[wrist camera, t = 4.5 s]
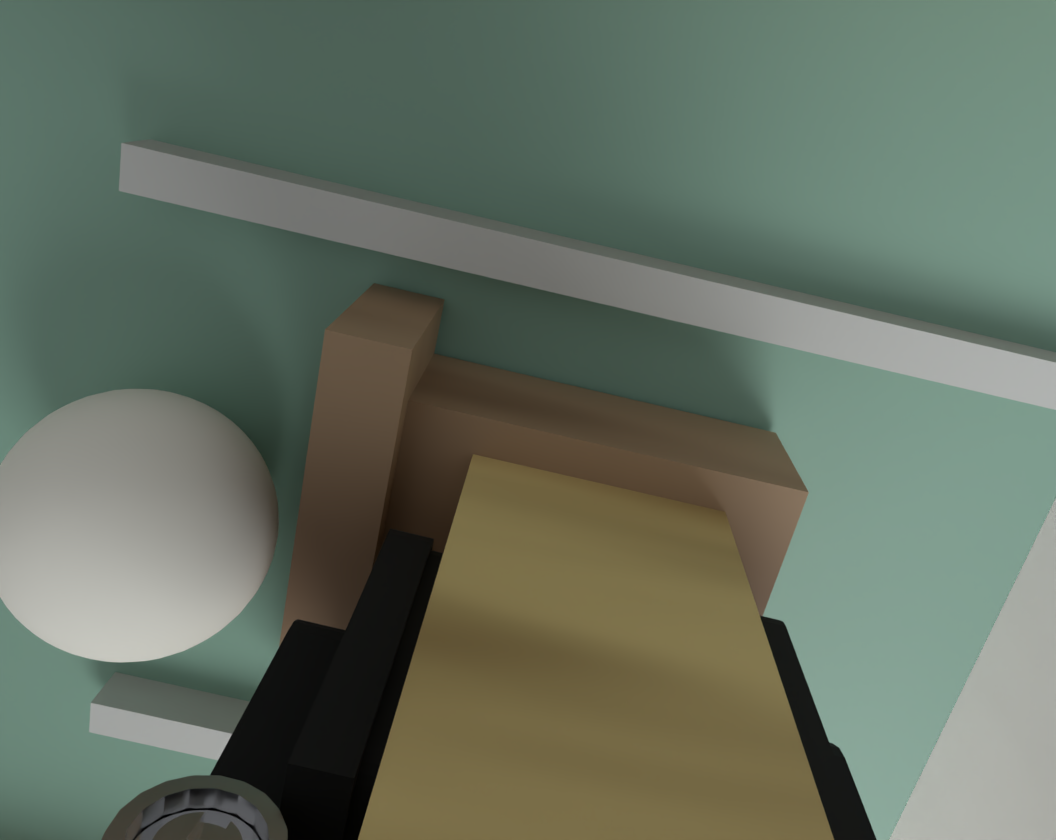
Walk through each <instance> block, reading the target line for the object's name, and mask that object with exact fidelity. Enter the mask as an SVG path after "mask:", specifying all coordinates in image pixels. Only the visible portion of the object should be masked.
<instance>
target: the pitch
mask: <svg viewBox="0 0 1056 840" xmlns="http://www.w3.org/2000/svg"><path fill="white" fill-rule="evenodd" d="M374 283H376V284H380V285H384V286H389V287H393V288H397V289H401V290H406V291H410V292H414V293H419V294H423V295H427V296H431V297H436V298H440V299H444V306H443V311H442V316H441V321H440V326H439V331H438V337H437V342H436V347H435V352H434V354H438V355H442V356H447V357H451V358H455V359H460V360H464V361H468V362H473V363H477V364H481V365H486V366H490V367H494V368H498V369H503V370H507V371H511V372H516V373H520V374H524V375H529V376H533V377H537V378H542V379H546V380H550V381H555V382H559V383H563V384H568V385H572V386H576V387H581V388H585V389H589V390H594V391H598V392H602V393H607V394H611V395H615V396H619V397H624V398H628V399H632V400H637V401H641V402H645V403H650V404H654V405H658V406H663V407H667V408H671V409H676V410H680V411H684V412H689V413H693V414H697V415H702V416H706V417H710V418H715V419H719V420H723V421H728V422H732V423H736V424H740V425H745V426H749V427H753V428H758V429H762V430H766V431H771V432H775V433H776V434H777V436H778V437H779V439H780V441H781V443H782V445H783V446H784V448H785V450H786V452H787V454H788V456H789V457H790V459H791V461H792V463H793V465H794V466H795V468H796V470H797V472H798V474H799V475H800V477H801V479H802V481H803V483H804V485H805V486H806V488H807V490H808V492H809V494H808V496H807V499H806V502H805V504H804V507H803V510H802V512H801V515H800V518H799V520H798V523H797V526H796V528H795V531H794V534H793V536H792V539H791V542H790V544H789V547H788V550H787V552H786V555H785V558H784V560H783V563H782V566H781V568H780V571H779V574H778V576H777V579H776V582H775V584H774V587H773V590H772V592H771V595H770V598H769V600H768V603H767V606H766V608H765V611H764V614H763V616H764V617H768V618H773V619H777V620H781V621H783V622H784V624H785V625H786V628H787V630H788V633H789V636H790V638H791V641H792V644H793V646H794V649H795V652H796V654H797V657H798V660H799V663H800V665H801V668H802V671H803V673H804V676H805V679H806V681H807V684H808V687H809V689H810V692H811V695H812V697H813V700H814V703H815V705H816V708H817V711H818V714H819V716H820V719H821V722H822V724H823V727H824V730H825V732H826V735H827V738H828V740H829V743H833V744H834V745H836V746H837V747H839V748H840V750H841V752H842V753H843V755H844V757H845V759H846V762H847V764H848V767H849V769H850V772H851V775H852V777H853V780H854V782H855V785H856V788H857V790H858V793H859V795H860V798H861V800H862V803H863V806H864V808H865V811H866V813H867V816H868V819H869V821H870V824H871V826H872V829H873V831H874V834H875V837H876V839H877V840H889V839H890V837H891V834H892V832H893V830H894V828H895V826H896V824H897V822H898V820H899V818H900V816H901V814H902V812H903V810H904V808H905V806H906V804H907V802H908V800H909V798H910V795H911V793H912V791H913V789H914V787H915V785H916V783H917V781H918V779H919V777H920V775H921V773H922V771H923V769H924V767H925V765H926V763H927V761H928V759H929V757H930V754H931V752H932V750H933V748H934V746H935V744H936V742H937V740H938V738H939V736H940V734H941V732H942V730H943V728H944V726H945V724H946V722H947V720H948V718H949V715H950V713H951V711H952V709H953V707H954V705H955V703H956V701H957V699H958V697H959V695H960V693H961V691H962V689H963V687H964V685H965V683H966V681H967V679H968V677H969V674H970V672H971V670H972V668H973V666H974V664H975V662H976V660H977V658H978V656H979V654H980V652H981V650H982V648H983V646H984V644H985V642H986V640H987V638H988V636H989V633H990V631H991V629H992V627H993V625H994V623H995V621H996V619H997V617H998V615H999V613H1000V611H1001V609H1002V607H1003V605H1004V603H1005V601H1006V599H1007V597H1008V594H1009V592H1010V590H1011V588H1012V586H1013V584H1014V582H1015V580H1016V578H1017V576H1018V574H1019V572H1020V570H1021V568H1022V566H1023V564H1024V562H1025V560H1026V558H1027V556H1028V553H1029V551H1030V549H1031V547H1032V545H1033V543H1034V541H1035V539H1036V537H1037V535H1038V533H1039V531H1040V529H1041V527H1042V525H1043V523H1044V521H1045V519H1046V517H1047V514H1048V512H1049V510H1050V508H1051V506H1052V504H1053V502H1054V500H1055V498H1056V0H0V465H1V463H2V461H3V460H4V458H5V457H6V455H7V454H8V452H9V451H10V450H11V449H12V448H13V446H14V445H15V444H16V443H17V442H18V441H19V439H20V438H21V437H22V436H23V435H24V434H25V433H26V432H27V431H28V430H29V429H31V428H32V427H33V426H34V425H36V424H37V423H38V422H40V421H41V420H42V419H43V418H45V417H46V416H47V415H49V414H51V413H52V412H54V411H56V410H58V409H59V408H61V407H63V406H65V405H67V404H69V403H71V402H74V401H76V400H79V399H82V398H84V397H87V396H91V395H95V394H99V393H103V392H108V391H112V390H121V389H155V390H161V391H167V392H172V393H176V394H179V395H183V396H186V397H189V398H192V399H194V400H197V401H199V402H201V403H204V404H206V405H208V406H210V407H211V408H213V409H215V410H217V411H218V412H220V413H221V414H223V415H224V416H226V417H227V418H228V419H230V420H231V421H232V422H233V423H234V424H236V425H237V426H238V427H239V428H240V429H241V430H242V431H243V432H244V433H245V434H246V435H247V436H248V438H249V439H250V440H251V441H252V442H253V444H254V445H255V447H256V448H257V449H258V451H259V452H260V454H261V456H262V458H263V460H264V461H265V463H266V465H267V467H268V470H269V472H270V475H271V478H272V480H273V483H274V486H275V491H276V495H277V500H278V512H279V527H278V538H277V542H276V547H275V551H274V556H273V559H272V562H271V564H270V567H269V570H268V572H267V574H266V576H265V578H264V580H263V582H262V584H261V585H260V587H259V589H258V591H257V592H256V594H255V595H254V596H253V598H252V599H251V600H250V601H249V603H248V604H247V605H246V606H245V608H244V609H243V610H242V611H241V613H240V614H239V615H238V616H237V617H235V618H234V619H233V620H232V621H231V622H230V623H229V624H228V625H226V626H225V627H224V628H223V629H222V630H220V631H219V632H217V633H216V634H214V635H213V636H211V637H210V638H208V639H207V640H205V641H203V642H201V643H199V644H198V645H195V646H193V647H191V648H189V649H187V650H185V651H182V652H179V653H176V654H173V655H169V656H166V657H163V658H160V659H154V660H148V661H139V662H123V663H120V662H105V661H99V660H93V659H89V658H85V657H81V656H77V655H74V654H71V653H68V652H66V651H63V650H61V649H58V648H56V647H54V646H52V645H51V644H49V643H47V642H45V641H44V640H42V639H41V638H39V637H37V636H36V635H35V634H33V633H32V632H31V631H30V630H28V629H27V628H26V627H25V626H24V625H23V624H21V623H20V622H19V621H18V620H17V619H16V618H15V617H14V615H13V614H12V613H11V612H10V611H9V609H8V608H7V607H6V605H5V604H4V602H3V601H2V599H1V598H0V840H101V839H102V837H103V835H104V833H105V831H106V829H107V828H108V826H109V825H110V823H111V822H112V821H113V819H114V818H115V816H116V815H117V813H118V812H119V810H120V809H121V808H123V807H124V806H125V805H126V804H128V803H129V802H130V801H131V800H133V799H134V798H135V797H136V796H137V795H139V794H140V793H141V792H144V791H146V790H148V789H150V788H152V787H154V786H156V785H159V784H161V783H163V782H165V781H168V780H173V779H178V778H183V777H187V776H192V775H210V774H211V772H212V770H213V769H214V767H215V765H216V763H217V761H218V759H219V757H220V756H221V754H222V752H223V750H224V748H225V746H226V744H227V743H228V741H229V739H230V737H231V735H232V733H233V732H234V730H235V728H236V726H237V724H238V722H239V720H240V719H241V717H242V715H243V713H244V711H245V709H246V707H247V706H248V704H249V702H250V700H251V698H252V696H253V694H254V693H255V691H256V689H257V687H258V685H259V683H260V682H261V680H262V678H263V676H264V674H265V672H266V670H267V669H268V667H269V665H270V663H271V661H272V659H273V657H274V656H275V654H276V652H277V650H278V648H279V643H280V636H281V630H282V623H283V616H284V609H285V602H286V595H287V588H288V581H289V574H290V568H291V561H292V554H293V547H294V540H295V533H296V526H297V519H298V512H299V505H300V499H301V492H302V485H303V478H304V471H305V464H306V457H307V450H308V443H309V437H310V430H311V423H312V416H313V409H314V402H315V395H316V388H317V381H318V374H319V368H320V361H321V354H322V347H323V340H324V333H325V329H326V328H327V327H328V326H329V325H330V324H331V323H332V322H334V321H335V320H336V319H337V318H338V317H339V316H340V315H341V314H342V313H343V312H344V311H345V310H346V309H347V308H348V307H349V306H350V305H351V304H352V303H354V302H355V301H356V300H357V299H358V298H359V297H360V296H361V295H362V294H363V293H364V292H365V291H366V290H367V289H368V288H369V287H370V286H371V285H373V284H374Z"/></svg>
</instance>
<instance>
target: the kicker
mask: <svg viewBox="0 0 1056 840" xmlns="http://www.w3.org/2000/svg"><path fill="white" fill-rule="evenodd" d="M443 306H444V299H440V298H436V297H431V296H427V295H423V294H419V293H414V292H410V291H406V290H401V289H397V288H393V287H389V286H384V285H380V284H376V283H374V284H373V285H371V286H370V287H369V288H368V289H367V290H366V291H365V292H364V293H363V294H362V295H361V296H360V297H359V298H358V299H357V300H356V301H355V302H354V303H352V304H351V305H350V306H349V307H348V308H347V309H346V310H345V311H344V312H343V313H342V314H341V315H340V316H339V317H338V318H337V319H336V320H335V321H334V322H332V323H331V324H330V325H329V326H328V327H327V328H326V329H325V333H324V340H323V347H322V354H321V361H320V368H319V374H318V381H317V388H316V395H315V402H314V409H313V416H312V423H311V430H310V437H309V443H308V450H307V457H306V464H305V471H304V478H303V485H302V492H301V499H300V505H299V512H298V519H297V526H296V533H295V540H294V547H293V554H292V561H291V568H290V574H289V581H288V588H287V595H286V602H285V609H284V616H283V623H282V630H281V636H280V643H279V646H280V645H281V643H282V641H283V639H284V637H285V635H286V633H287V632H288V630H289V628H290V627H291V625H292V623H293V622H294V621H295V620H297V619H300V620H304V621H308V622H312V623H317V624H321V625H325V626H330V627H334V628H338V629H343V630H346V628H347V626H348V623H349V621H350V619H351V616H352V614H353V612H354V610H355V607H356V605H357V603H358V600H359V598H360V596H361V594H362V591H363V589H364V587H365V584H366V582H367V580H368V577H369V575H370V573H371V571H372V568H373V566H374V564H375V561H376V559H377V557H378V554H379V552H380V550H381V548H382V545H383V543H384V541H385V538H386V536H387V534H388V532H389V530H390V529H395V530H399V531H404V532H408V533H412V534H416V535H421V536H425V537H429V538H433V539H434V543H433V548H432V551H437V552H441V553H443V556H442V559H441V563H440V566H439V569H438V573H437V576H436V580H435V583H434V586H433V590H432V593H431V596H430V600H429V603H428V606H427V610H426V613H425V616H424V620H423V623H422V626H421V630H420V633H419V636H418V640H417V643H416V646H415V650H414V653H413V657H412V660H411V663H410V667H409V670H408V673H407V677H406V680H405V683H404V687H403V690H402V693H401V697H400V700H399V703H398V707H397V710H396V713H395V717H394V720H393V723H392V727H391V730H390V733H389V737H388V740H387V744H386V747H385V750H384V754H383V757H382V760H381V764H380V767H379V770H378V774H377V777H376V780H375V784H374V787H373V790H372V794H371V797H370V800H369V804H368V807H367V810H366V814H365V817H364V820H363V824H362V827H361V831H360V834H359V837H358V840H834V838H833V835H832V832H831V829H830V826H829V823H828V820H827V817H826V814H825V811H824V808H823V805H822V802H821V799H820V796H819V793H818V790H817V787H816V784H815V781H814V778H813V775H812V772H811V769H810V766H809V763H808V760H807V757H806V754H805V751H804V748H803V745H802V742H801V739H800V736H799V733H798V730H797V726H796V723H795V720H794V717H793V714H792V711H791V708H790V705H789V702H788V699H787V696H786V693H785V690H784V687H783V684H782V681H781V678H780V675H779V672H778V669H777V666H776V663H775V660H774V657H773V654H772V651H771V648H770V645H769V642H768V639H767V636H766V633H765V630H764V627H763V624H762V621H761V618H760V616H763V614H764V611H765V608H766V606H767V603H768V600H769V598H770V595H771V592H772V590H773V587H774V584H775V582H776V579H777V576H778V574H779V571H780V568H781V566H782V563H783V560H784V558H785V555H786V552H787V550H788V547H789V544H790V542H791V539H792V536H793V534H794V531H795V528H796V526H797V523H798V520H799V518H800V515H801V512H802V510H803V507H804V504H805V502H806V499H807V496H808V494H809V492H808V490H807V488H806V486H805V485H804V483H803V481H802V479H801V477H800V475H799V474H798V472H797V470H796V468H795V466H794V465H793V463H792V461H791V459H790V457H789V456H788V454H787V452H786V450H785V448H784V446H783V445H782V443H781V441H780V439H779V437H778V436H777V434H776V433H775V432H771V431H766V430H762V429H758V428H753V427H749V426H745V425H740V424H736V423H732V422H728V421H723V420H719V419H715V418H710V417H706V416H702V415H697V414H693V413H689V412H684V411H680V410H676V409H671V408H667V407H663V406H658V405H654V404H650V403H645V402H641V401H637V400H632V399H628V398H624V397H619V396H615V395H611V394H607V393H602V392H598V391H594V390H589V389H585V388H581V387H576V386H572V385H568V384H563V383H559V382H555V381H550V380H546V379H542V378H537V377H533V376H529V375H524V374H520V373H516V372H511V371H507V370H503V369H498V368H494V367H490V366H486V365H481V364H477V363H473V362H468V361H464V360H460V359H455V358H451V357H447V356H442V355H438V354H434V352H435V347H436V342H437V337H438V331H439V326H440V321H441V316H442V311H443Z"/></svg>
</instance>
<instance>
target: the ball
mask: <svg viewBox="0 0 1056 840" xmlns="http://www.w3.org/2000/svg"><path fill="white" fill-rule="evenodd" d="M278 527H279V512H278V500H277V495H276V491H275V486H274V483H273V480H272V478H271V475H270V472H269V470H268V467H267V465H266V463H265V461H264V460H263V458H262V456H261V454H260V452H259V451H258V449H257V448H256V447H255V445H254V444H253V442H252V441H251V440H250V439H249V438H248V436H247V435H246V434H245V433H244V432H243V431H242V430H241V429H240V428H239V427H238V426H237V425H236V424H234V423H233V422H232V421H231V420H230V419H228V418H227V417H226V416H224V415H223V414H221V413H220V412H218V411H217V410H215V409H213V408H211V407H210V406H208V405H206V404H204V403H201V402H199V401H197V400H194V399H192V398H189V397H186V396H183V395H179V394H176V393H172V392H167V391H161V390H155V389H121V390H112V391H108V392H103V393H99V394H95V395H91V396H87V397H84V398H82V399H79V400H76V401H74V402H71V403H69V404H67V405H65V406H63V407H61V408H59V409H58V410H56V411H54V412H52V413H51V414H49V415H47V416H46V417H45V418H43V419H42V420H41V421H40V422H38V423H37V424H36V425H34V426H33V427H32V428H31V429H29V430H28V431H27V432H26V433H25V434H24V435H23V436H22V437H21V438H20V439H19V441H18V442H17V443H16V444H15V445H14V446H13V448H12V449H11V450H10V451H9V452H8V454H7V455H6V457H5V458H4V460H3V461H2V463H1V465H0V598H1V599H2V601H3V602H4V604H5V605H6V607H7V608H8V609H9V611H10V612H11V613H12V614H13V615H14V617H15V618H16V619H17V620H18V621H19V622H20V623H21V624H23V625H24V626H25V627H26V628H27V629H28V630H30V631H31V632H32V633H33V634H35V635H36V636H37V637H39V638H41V639H42V640H44V641H45V642H47V643H49V644H51V645H52V646H54V647H56V648H58V649H61V650H63V651H66V652H68V653H71V654H74V655H77V656H81V657H85V658H89V659H93V660H99V661H105V662H120V663H123V662H139V661H148V660H154V659H160V658H163V657H166V656H169V655H173V654H176V653H179V652H182V651H185V650H187V649H189V648H191V647H193V646H195V645H198V644H199V643H201V642H203V641H205V640H207V639H208V638H210V637H211V636H213V635H214V634H216V633H217V632H219V631H220V630H222V629H223V628H224V627H225V626H226V625H228V624H229V623H230V622H231V621H232V620H233V619H234V618H235V617H237V616H238V615H239V614H240V613H241V611H242V610H243V609H244V608H245V606H246V605H247V604H248V603H249V601H250V600H251V599H252V598H253V596H254V595H255V594H256V592H257V591H258V589H259V587H260V585H261V584H262V582H263V580H264V578H265V576H266V574H267V572H268V570H269V567H270V564H271V562H272V559H273V556H274V551H275V547H276V542H277V538H278Z"/></svg>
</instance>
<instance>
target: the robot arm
mask: <svg viewBox="0 0 1056 840" xmlns="http://www.w3.org/2000/svg"><path fill="white" fill-rule="evenodd" d="M433 543H434V539H433V538H429V537H425V536H421V535H416V534H412V533H408V532H404V531H399V530H395V529H390V530H389V532H388V534H387V536H386V538H385V541H384V543H383V545H382V548H381V550H380V552H379V554H378V557H377V559H376V561H375V564H374V566H373V568H372V571H371V573H370V575H369V577H368V580H367V582H366V584H365V587H364V589H363V591H362V594H361V596H360V598H359V600H358V603H357V605H356V607H355V610H354V612H353V614H352V616H351V619H350V621H349V623H348V626H347V628H346V630H343V629H338V628H334V627H330V626H325V625H321V624H317V623H312V622H308V621H304V620H300V619H297V620H295V621H294V622H293V623H292V625H291V627H290V628H289V630H288V632H287V633H286V635H285V637H284V639H283V641H282V643H281V645H280V646H279V648H278V650H277V652H276V654H275V656H274V657H273V659H272V661H271V663H270V665H269V667H268V669H267V670H266V672H265V674H264V676H263V678H262V680H261V682H260V683H259V685H258V687H257V689H256V691H255V693H254V694H253V696H252V698H251V700H250V702H249V704H248V706H247V707H246V709H245V711H244V713H243V715H242V717H241V719H240V720H239V722H238V724H237V726H236V728H235V730H234V732H233V733H232V735H231V737H230V739H229V741H228V743H227V744H226V746H225V748H224V750H223V752H222V754H221V756H220V757H219V759H218V761H217V763H216V765H215V767H214V769H213V770H212V772H211V774H210V775H192V776H187V777H183V778H178V779H173V780H168V781H165V782H163V783H161V784H159V785H156V786H154V787H152V788H150V789H148V790H146V791H144V792H141V793H140V794H139V795H137V796H136V797H135V798H134V799H133V800H131V801H130V802H129V803H128V804H126V805H125V806H124V807H123V808H121V809H120V810H119V812H118V813H117V815H116V816H115V818H114V819H113V821H112V822H111V823H110V825H109V826H108V828H107V829H106V831H105V833H104V835H103V837H102V839H101V840H358V837H359V834H360V831H361V827H362V824H363V820H364V817H365V814H366V810H367V807H368V804H369V800H370V797H371V794H372V790H373V787H374V784H375V780H376V777H377V774H378V770H379V767H380V764H381V760H382V757H383V754H384V750H385V747H386V744H387V740H388V737H389V733H390V730H391V727H392V723H393V720H394V717H395V713H396V710H397V707H398V703H399V700H400V697H401V693H402V690H403V687H404V683H405V680H406V677H407V673H408V670H409V667H410V663H411V660H412V657H413V653H414V650H415V646H416V643H417V640H418V636H419V633H420V630H421V626H422V623H423V620H424V616H425V613H426V610H427V606H428V603H429V600H430V596H431V593H432V590H433V586H434V583H435V580H436V576H437V573H438V569H439V566H440V563H441V559H442V556H443V553H441V552H437V551H432V548H433ZM760 618H761V621H762V624H763V627H764V630H765V633H766V636H767V639H768V642H769V645H770V648H771V651H772V654H773V657H774V660H775V663H776V666H777V669H778V672H779V675H780V678H781V681H782V684H783V687H784V690H785V693H786V696H787V699H788V702H789V705H790V708H791V711H792V714H793V717H794V720H795V723H796V726H797V730H798V733H799V736H800V739H801V742H802V745H803V748H804V751H805V754H806V757H807V760H808V763H809V766H810V769H811V772H812V775H813V778H814V781H815V784H816V787H817V790H818V793H819V796H820V799H821V802H822V805H823V808H824V811H825V814H826V817H827V820H828V823H829V826H830V829H831V832H832V835H833V838H834V840H877V839H876V837H875V834H874V831H873V829H872V826H871V824H870V821H869V819H868V816H867V813H866V811H865V808H864V806H863V803H862V800H861V798H860V795H859V793H858V790H857V788H856V785H855V782H854V780H853V777H852V775H851V772H850V769H849V767H848V764H847V762H846V759H845V757H844V755H843V753H842V752H841V750H840V748H839V747H837V746H836V745H834V744H833V743H829V740H828V738H827V735H826V732H825V730H824V727H823V724H822V722H821V719H820V716H819V714H818V711H817V708H816V705H815V703H814V700H813V697H812V695H811V692H810V689H809V687H808V684H807V681H806V679H805V676H804V673H803V671H802V668H801V665H800V663H799V660H798V657H797V654H796V652H795V649H794V646H793V644H792V641H791V638H790V636H789V633H788V630H787V628H786V625H785V624H784V622H783V621H781V620H777V619H773V618H768V617H764V616H760Z"/></svg>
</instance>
